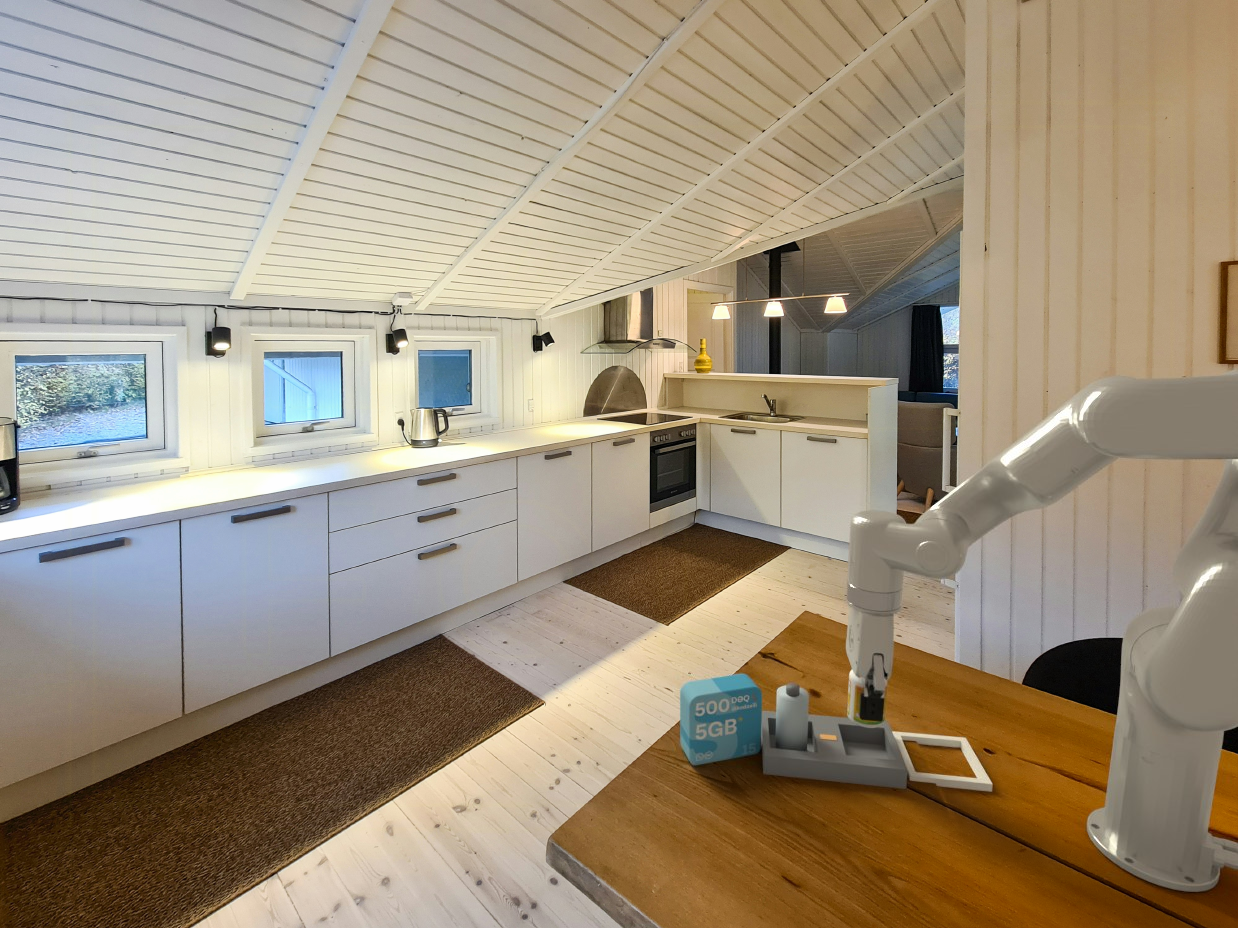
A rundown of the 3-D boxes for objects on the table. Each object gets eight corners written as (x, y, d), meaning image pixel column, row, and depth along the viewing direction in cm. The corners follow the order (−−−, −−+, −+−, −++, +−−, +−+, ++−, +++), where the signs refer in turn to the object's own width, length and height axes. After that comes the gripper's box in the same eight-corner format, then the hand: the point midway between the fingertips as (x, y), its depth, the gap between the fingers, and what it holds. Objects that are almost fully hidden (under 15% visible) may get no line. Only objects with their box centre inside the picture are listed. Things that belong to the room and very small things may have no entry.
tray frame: (964, 744, 99) (965, 737, 99) (991, 791, 89) (992, 784, 88) (891, 737, 101) (892, 731, 101) (909, 783, 91) (910, 775, 90)
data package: (689, 769, 95) (689, 697, 93) (679, 751, 99) (679, 682, 97) (761, 755, 98) (762, 685, 96) (748, 738, 102) (750, 671, 100)
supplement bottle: (892, 725, 93) (897, 665, 91) (862, 731, 91) (866, 671, 89) (868, 705, 98) (872, 648, 96) (839, 711, 96) (842, 654, 94)
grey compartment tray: (886, 740, 101) (887, 720, 100) (905, 791, 89) (907, 768, 88) (760, 729, 104) (761, 709, 104) (763, 776, 93) (763, 754, 92)
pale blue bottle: (805, 743, 99) (807, 679, 97) (808, 762, 95) (810, 695, 93) (774, 740, 100) (776, 676, 98) (776, 759, 96) (777, 693, 94)
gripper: (838, 573, 100) (832, 676, 103) (857, 618, 83) (850, 739, 87) (887, 576, 98) (880, 680, 102) (917, 621, 82) (907, 745, 85)
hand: (866, 706), depth 94 cm, fingers closed on supplement bottle, 5 cm apart
